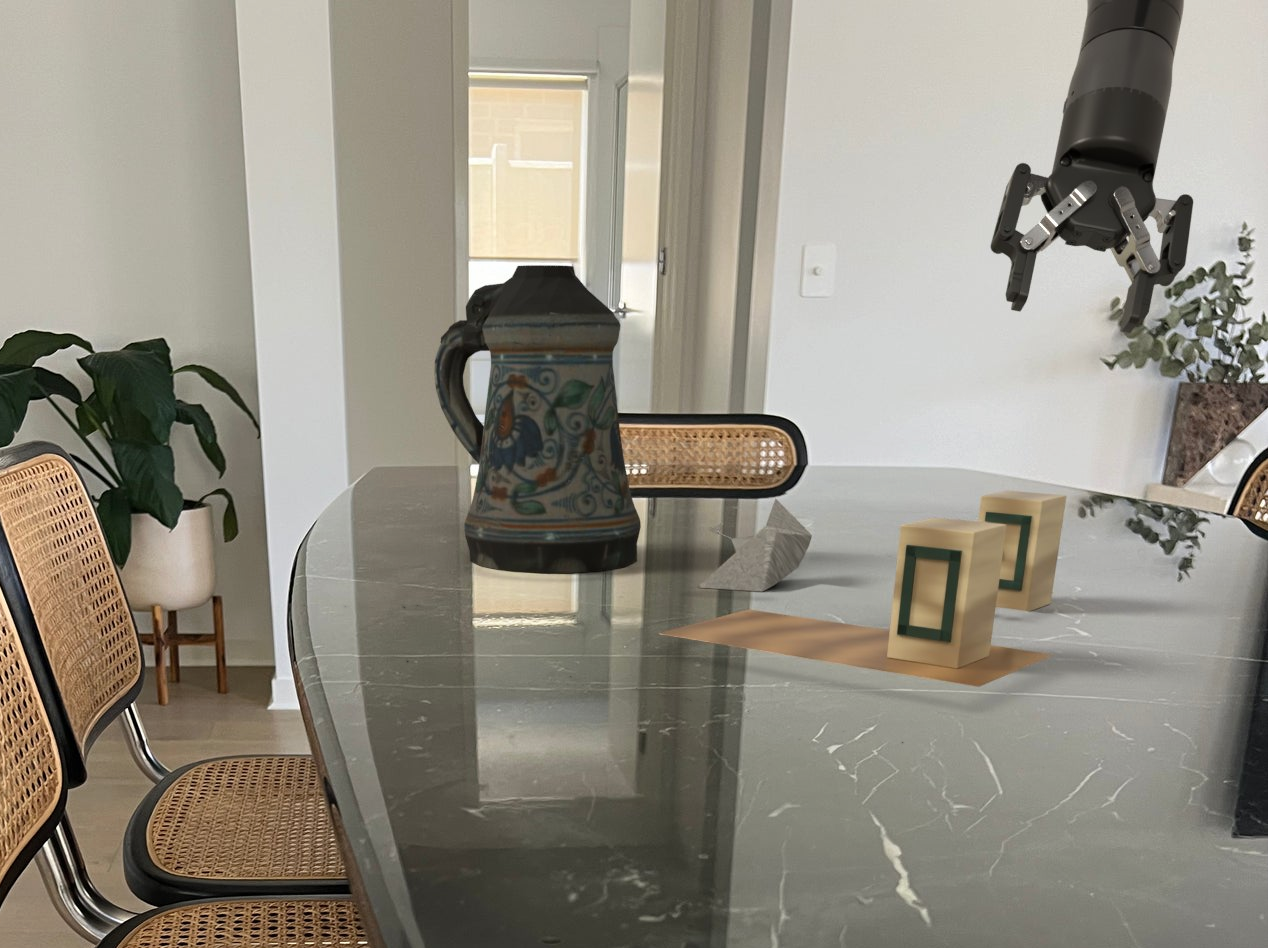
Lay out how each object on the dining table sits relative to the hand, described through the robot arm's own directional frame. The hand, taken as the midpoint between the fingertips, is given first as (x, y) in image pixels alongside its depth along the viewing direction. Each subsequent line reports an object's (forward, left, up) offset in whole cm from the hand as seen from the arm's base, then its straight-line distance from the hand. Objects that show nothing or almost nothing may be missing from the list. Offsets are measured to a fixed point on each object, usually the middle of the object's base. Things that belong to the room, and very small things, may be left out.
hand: (1074, 317), depth 112 cm
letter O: (+12, +26, -21) cm, 36 cm away
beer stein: (+42, -16, -22) cm, 50 cm away
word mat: (+18, +23, -21) cm, 36 cm away
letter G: (+2, +2, -21) cm, 22 cm away
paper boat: (+22, -6, -22) cm, 32 cm away
